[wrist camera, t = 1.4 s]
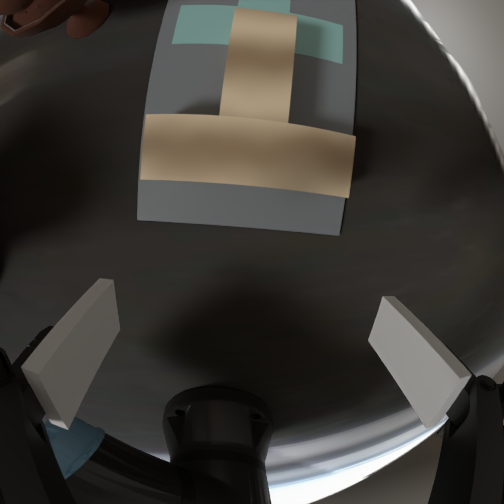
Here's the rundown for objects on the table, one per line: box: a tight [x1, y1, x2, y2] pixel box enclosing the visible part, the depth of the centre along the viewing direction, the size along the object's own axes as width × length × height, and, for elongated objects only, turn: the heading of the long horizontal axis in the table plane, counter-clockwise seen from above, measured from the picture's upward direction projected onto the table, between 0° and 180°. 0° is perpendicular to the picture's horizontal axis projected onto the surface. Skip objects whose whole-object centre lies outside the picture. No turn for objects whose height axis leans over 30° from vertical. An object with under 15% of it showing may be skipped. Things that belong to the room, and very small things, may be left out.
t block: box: [140, 8, 356, 198], centre depth 19 cm, size 15×16×4 cm
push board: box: [137, 0, 356, 236], centre depth 20 cm, size 34×19×1 cm, turn 174°
